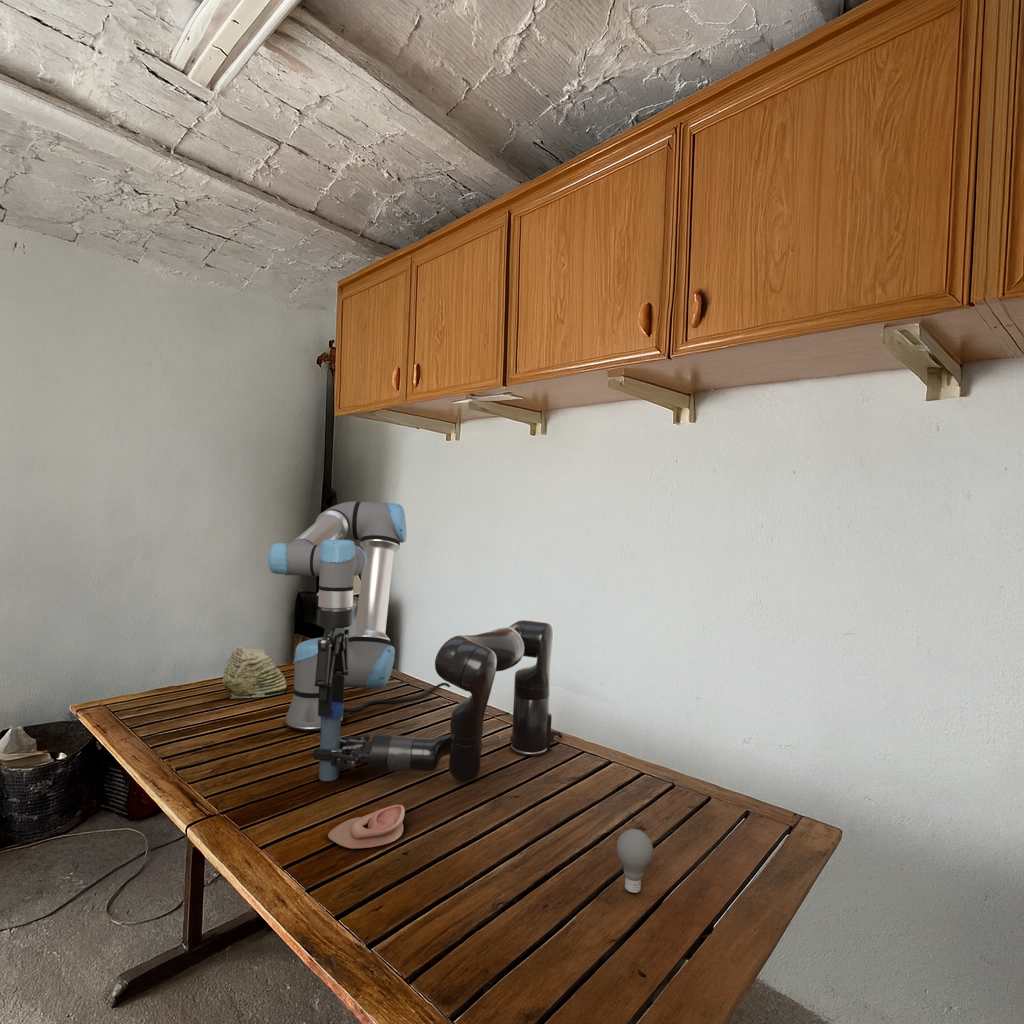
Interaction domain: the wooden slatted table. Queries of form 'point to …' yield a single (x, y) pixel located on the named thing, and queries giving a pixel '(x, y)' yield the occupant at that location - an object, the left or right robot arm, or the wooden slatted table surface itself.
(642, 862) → the light bulb
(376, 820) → the anatomical model
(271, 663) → the fossil
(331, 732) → the jar
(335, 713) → the lid
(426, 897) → the wooden slatted table surface
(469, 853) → the wooden slatted table surface
